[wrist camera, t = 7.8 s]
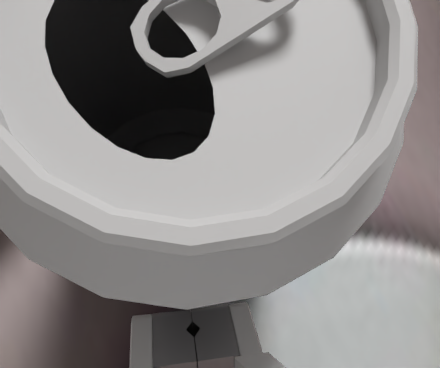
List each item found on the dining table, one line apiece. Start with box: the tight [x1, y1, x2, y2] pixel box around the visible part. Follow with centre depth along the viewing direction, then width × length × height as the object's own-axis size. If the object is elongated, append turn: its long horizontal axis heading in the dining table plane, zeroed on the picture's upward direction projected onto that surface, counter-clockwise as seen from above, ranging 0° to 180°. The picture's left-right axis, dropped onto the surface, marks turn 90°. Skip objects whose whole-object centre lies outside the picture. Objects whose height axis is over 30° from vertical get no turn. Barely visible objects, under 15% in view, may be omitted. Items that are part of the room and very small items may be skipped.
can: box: [0, 0, 418, 310], centre depth 11 cm, size 8×8×12 cm
